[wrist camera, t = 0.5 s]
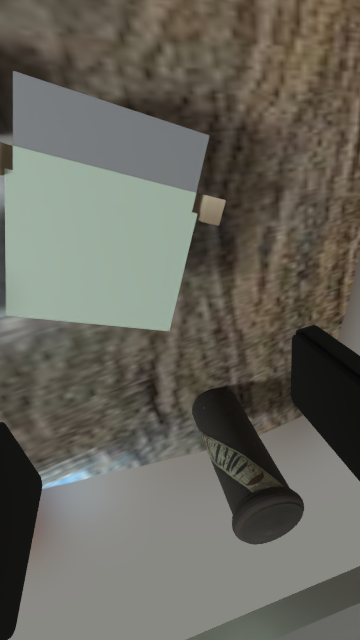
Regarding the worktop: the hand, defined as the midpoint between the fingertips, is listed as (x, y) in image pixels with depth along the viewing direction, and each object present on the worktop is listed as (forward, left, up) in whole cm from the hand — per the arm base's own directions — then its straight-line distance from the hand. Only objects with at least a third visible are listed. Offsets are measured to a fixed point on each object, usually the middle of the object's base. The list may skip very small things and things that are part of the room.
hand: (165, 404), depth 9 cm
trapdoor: (-2, -2, -22) cm, 22 cm away
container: (+25, +20, -29) cm, 43 cm away
